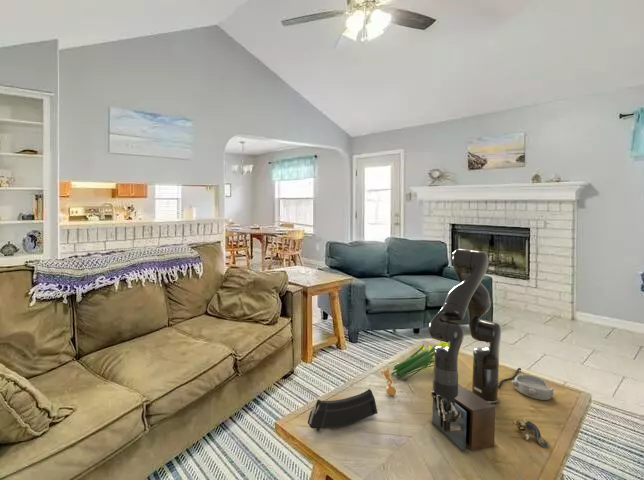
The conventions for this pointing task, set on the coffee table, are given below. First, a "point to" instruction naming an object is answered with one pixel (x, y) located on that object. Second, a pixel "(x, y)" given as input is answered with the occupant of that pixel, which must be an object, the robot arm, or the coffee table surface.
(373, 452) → the coffee table surface
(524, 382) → the dish
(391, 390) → the figurine
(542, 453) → the coffee table surface
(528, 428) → the animal figure
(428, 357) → the daffodil flowers
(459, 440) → the cupboard door
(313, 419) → the magazine
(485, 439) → the cupboard
